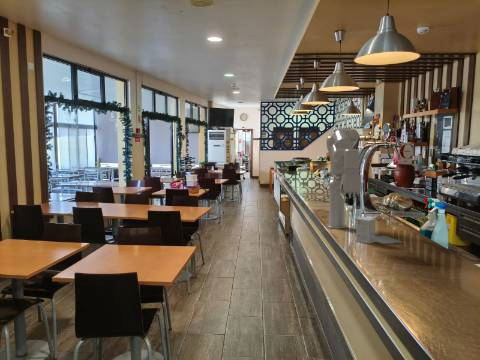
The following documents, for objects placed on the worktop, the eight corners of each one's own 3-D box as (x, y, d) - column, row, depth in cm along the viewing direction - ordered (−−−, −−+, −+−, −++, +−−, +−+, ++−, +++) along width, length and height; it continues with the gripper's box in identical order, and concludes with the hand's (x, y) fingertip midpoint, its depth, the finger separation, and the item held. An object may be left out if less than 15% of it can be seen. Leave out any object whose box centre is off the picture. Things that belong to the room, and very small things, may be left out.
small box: (375, 242, 206) (375, 219, 205) (368, 244, 202) (369, 220, 201) (362, 239, 212) (362, 216, 211) (355, 241, 208) (356, 218, 207)
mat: (365, 237, 216) (365, 236, 216) (384, 236, 219) (384, 235, 219) (382, 244, 201) (382, 243, 201) (402, 243, 204) (402, 242, 204)
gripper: (359, 171, 206) (358, 204, 208) (335, 171, 203) (334, 205, 204) (367, 171, 199) (366, 205, 200) (342, 172, 195) (341, 207, 197)
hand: (350, 205), depth 202 cm, fingers closed
